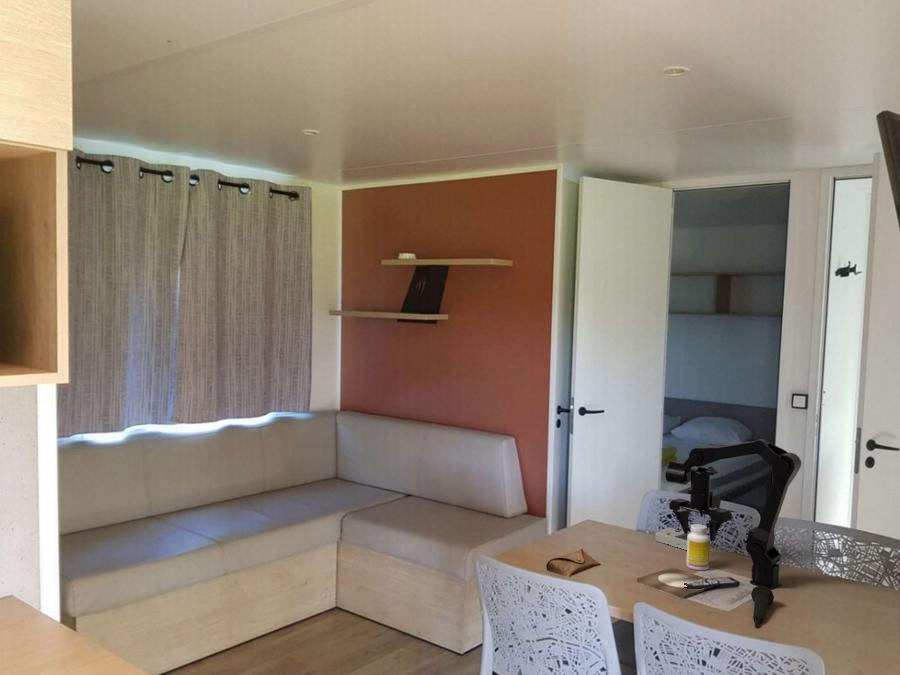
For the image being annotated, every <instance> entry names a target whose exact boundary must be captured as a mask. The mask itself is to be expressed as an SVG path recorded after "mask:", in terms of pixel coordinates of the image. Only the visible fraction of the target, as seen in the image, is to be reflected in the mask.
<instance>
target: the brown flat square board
mask: <svg viewBox="0 0 900 675" xmlns="http://www.w3.org/2000/svg"><path fill="white" fill-rule="evenodd" d="M700 579H707V578H706V577H702V576H700V575H697V574H695V573H694V574H693V573H691V572H688V571H685V570H682V569H680V568H676V567H673V566H672V567H668V568H666V569H663V570H660V571H655V572H653V573H650V574H646V575H643V576H640V577H637V578H636V581H637V582H639V583H641V584H644V585H647V586H650V587H651V588H654V589H658V590H659V591H662V592H666V593H668V594H671V595H673V596H676V597H678V598H681V599H687V598H690V597H693V596H695V595H698V594H700V593H699V592H700V591H703V590H704V589H705V588H702V589H687V588H684V587H687V586H686V585H684V583H687V584H689V583H694V582H697V580H700ZM697 593H698V594H697ZM694 594H695V595H694ZM692 595H693V596H692Z"/></svg>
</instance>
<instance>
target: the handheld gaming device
mask: <svg viewBox="0 0 900 675" xmlns="http://www.w3.org/2000/svg"><path fill="white" fill-rule="evenodd" d="M689 533H690V532H688V533H687V534H685V533H684V531H683V530H679V529H676V528H672V527H666V528H663V529H661V530H660V529H659V530H658V531H657V532H655V541H656V542H659V543H662V544H664V543H665V545H667V544H669V545H668V546H670V545H671V546H670V547H673V548H677V547H678V548H677V549H680V548H681V549H680V550H683V549H684V550H683V551H686V550H687V536H688V534H689Z"/></svg>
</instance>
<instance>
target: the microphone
mask: <svg viewBox="0 0 900 675" xmlns="http://www.w3.org/2000/svg"><path fill="white" fill-rule="evenodd" d="M750 596H751V599H752V602H754V603H753V617H752V619H753V623H754V628H755V629H758V628H759V626H760V624H762V623H763V621H764V619H765V615H766V611H767V609H768V606H771V605H773V604H772V603H773V602H774V599H775V595H774V592H773V591H772V589H769V588H768V587H766V586H761V585H759V586H758V585H756V586H754V587H752V590H751V594H750Z"/></svg>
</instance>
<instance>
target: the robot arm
mask: <svg viewBox="0 0 900 675" xmlns="http://www.w3.org/2000/svg"><path fill="white" fill-rule="evenodd" d="M752 455H758V456H760V457H761V458H762V459H763V460H764V461H765V462H766V463H767V464H768V465H770V466H772V472H771V475H772V477H771V478H772V483H771V486H770V490H769V491H768V495H767V499H766V501H765V505H764V508H763V511H762V514H761V517H760V520H759V523H758V525H757V526H754V527H752V528H751V529H749V530H748V532H747V538H746V540H745V541H744V544H746V545H745V550H746V551H747V554H748V556H750V558H751V561H752V565H751V580H750V581H749V583H750V584H753V585H755V586H759V585H761V586H766V587H768V588H769V589H770V590H772V589H775V588H778V587H780V586H782V582H780V581H779V578H780V564H778V563H779V562H780V561H781V558H782V554H781V553H780V552H779V550H778V549H777V548H776V547H775V538H776V537H775V536H776V534H775V528H776V525H777V522H778V520H779V515H780V513H781V510H782V507H783V505H784V504H783V503H784V501H785V498H786V495H787V491H788V489H789V487H790V485H791V483H792V482H793V480H794V479H795V477H796V476H797V475H798V472H799V470H800V469H801V467H802V460H801V459H800V456H798V455H797V454H796V453H794V452H789V451H786V450H785V449H783V448H781V447H780V446H777V445H776V444H773V443H771V442H770V441H769V440H767V439H765V438H760V439H756V440H753V441H746V442H740V443H735V444H730V445H723V446H717V445H700V446H698V447H695V448H692V449H690V451H689V453H688V458H687V459H686V460H685V461H684V462H678V461H676V460H670V461H669V462H668V466H667V468H666V471H665V480H666V482H667V483H673V484H679V485H684V486H685V485H687V484H688V483H690V489H688V490H687V494H689V495H690V498H689V499H690V500H688V499H683V498H680V497H679V498H676V499H672V500H670V502H669V505H668V509H669V510H671V511H672V513H673V514H674V515H675V517H676V519H677V521H678V522H679V524H680V527H681V529H682V531H683V532H684V533H685V534H687V533H689V516H690V513H691V512H694V513H699V514H703V515H707V516H709V518H710V519H709V520H708V528H709V530H708V531H709V538H710V543H711V542H714V541H715V539H716V537H717V534H718V532H719V529H720V528H721V526H722V525H723V524H724V523H726V522H728V521H731V520H733V517H732V516H733V514H732V512H731V510H730V509H727V508H726V509H725V508H722V507H720V506H721V504H722V503H721V502H722V498H720V497H718V496H715V495H714V492H713V490H711V476H715V475H718V471H717V470H716V469H715V468H714V466H713V465H711V466H708V467H704V466H706V465H709V464H712V463H715V462H717V461H720V460H724V459H725V460H726V459H732V458H739V457H745V456H752ZM694 467H697V468H694Z"/></svg>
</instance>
